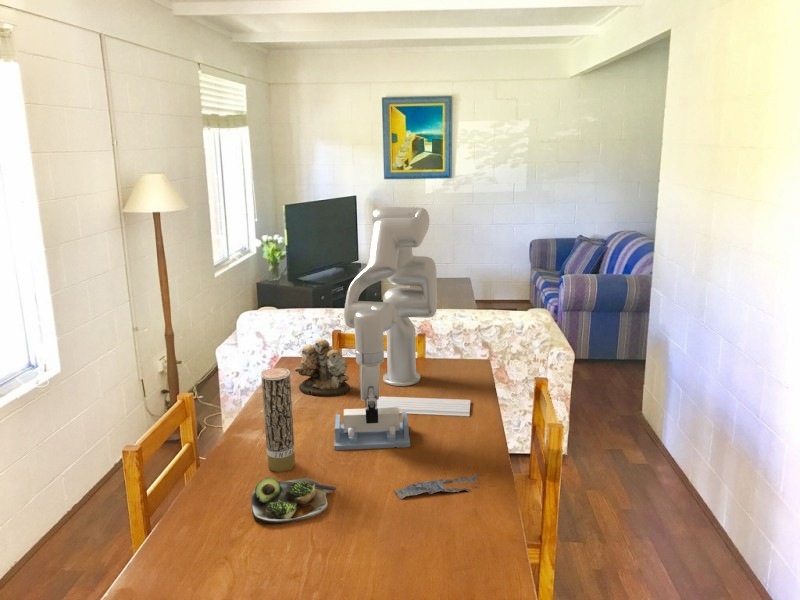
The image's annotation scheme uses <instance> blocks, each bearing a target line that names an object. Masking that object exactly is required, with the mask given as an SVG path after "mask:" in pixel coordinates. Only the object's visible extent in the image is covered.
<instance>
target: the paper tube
mask: <svg viewBox="0 0 800 600" xmlns="http://www.w3.org/2000/svg"><path fill="white" fill-rule="evenodd" d="M260 376H261V378H260V379H261V390H262V392H261V393H262V401H263V402H262V403H263V416H264V419H263V420H264V432H265V445H266V458H267V459H266V461H267V466H268V467H267V468H268V469H269V471H272V472H275V473H282V472H283V473H284V472H288V471H290V470H292V469H293V468H294V466H295V465H296V458H295V457H296V456H295V439H294V438H295V437H294V422H293V421H294V420H293V405H292V403H293V401H292V387H291V385H292V384H291V373H290V370H289V369H287V368H282V367H275V368H274V367H273V368H268V369H266V370H264V371H262V372H261V375H260Z"/></svg>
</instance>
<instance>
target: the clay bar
mask: <svg viewBox="0 0 800 600" xmlns="http://www.w3.org/2000/svg"><path fill="white" fill-rule="evenodd" d="M366 409H367V408H366V407H364V408H344V409H343V424H344V433H345V432H348V428H350V427H353V428H354V432H371V431H390V430H389V427H390V426H395V431H396V430H400V422H401V421H400V414H399V407H391V408H378V423H369V424H367V423H366Z"/></svg>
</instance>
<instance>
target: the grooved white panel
mask: <svg viewBox="0 0 800 600" xmlns="http://www.w3.org/2000/svg"><path fill="white" fill-rule="evenodd" d="M391 407H399V413H402V412H406V413H407V415H409V414H423V415H422V416H434V415H444V416H443V417H458V416H460V417H462V418H469V417H470V416H471V415H470V414H471V399H459V398H458V399H457V398H455V399H454V398H430V397H426V398H425V397H405V396H404V397H402V396H382V395H381V396H380V395H379V399H378V400H377V408H391Z"/></svg>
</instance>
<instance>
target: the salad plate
mask: <svg viewBox="0 0 800 600" xmlns="http://www.w3.org/2000/svg"><path fill="white" fill-rule="evenodd" d="M255 486H256V487H255V489H254V490H253V492H252V494H251V498H250V500H251V503H250V504H251V509H252V511H251V514H252V516H253V519H255V521H257V522H260V523H261V524H263V525H269V526H270V525H271V526H273V525H274V526H276V525H277V526H278V525H284V524H289V523H296V522H299V521H303V520H306V519H309V518H314V517H316V516H318V515H319V514H321V513H323V512H324V511H325V510H326V509H327V508H328V506H329V504H328V499H327V494H328V493H332V492H334V491H336V490H337V486H336V485H335V486H334V485H329V484H328V485H327V484H321V483H320V482H318V481H316V480H314V479H311V478H298V479H292V480H286V481H285V480H283V481H282V480H277V479H276V478H274V477H265V478H262V479H261V480H260V481H259V482H257V484H256V485H255ZM309 505H310V506H312V507H313V509H312V510H311V511H310V512H308V513H306V514H304V515H302V516H301V515H300V516H297V517H294V518H292V517H293V516H294V514H295V513H296V511H297V510H298V509H300V508H301V507H307V506H309Z"/></svg>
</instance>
